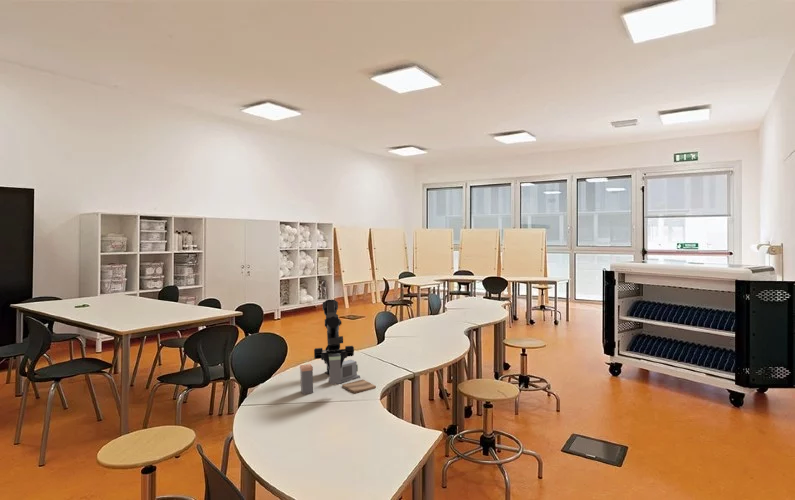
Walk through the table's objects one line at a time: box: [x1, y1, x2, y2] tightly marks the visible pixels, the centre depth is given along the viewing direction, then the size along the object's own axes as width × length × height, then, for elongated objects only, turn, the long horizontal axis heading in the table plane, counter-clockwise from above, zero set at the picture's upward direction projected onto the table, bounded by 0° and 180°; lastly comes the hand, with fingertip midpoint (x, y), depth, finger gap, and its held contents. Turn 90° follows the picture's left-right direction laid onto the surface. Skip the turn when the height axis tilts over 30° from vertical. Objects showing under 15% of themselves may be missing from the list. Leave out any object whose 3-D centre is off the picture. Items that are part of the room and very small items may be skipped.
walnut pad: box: [341, 379, 377, 394], centre depth 217 cm, size 12×12×1 cm
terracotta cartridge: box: [299, 363, 314, 395], centre depth 212 cm, size 5×5×12 cm
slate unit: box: [328, 359, 361, 385], centre depth 229 cm, size 8×14×8 cm, turn 132°
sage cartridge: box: [329, 353, 342, 385], centre depth 206 cm, size 5×5×12 cm
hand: (335, 368), depth 205 cm, fingers closed on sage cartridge, 5 cm apart
